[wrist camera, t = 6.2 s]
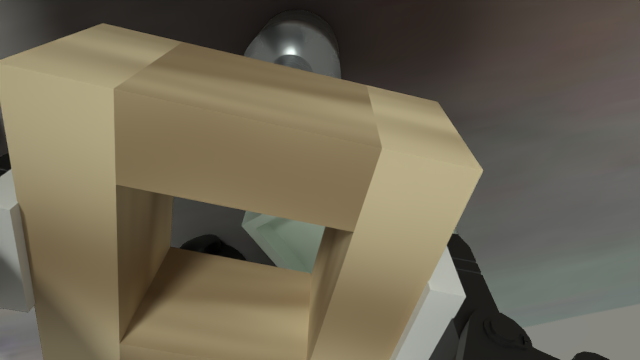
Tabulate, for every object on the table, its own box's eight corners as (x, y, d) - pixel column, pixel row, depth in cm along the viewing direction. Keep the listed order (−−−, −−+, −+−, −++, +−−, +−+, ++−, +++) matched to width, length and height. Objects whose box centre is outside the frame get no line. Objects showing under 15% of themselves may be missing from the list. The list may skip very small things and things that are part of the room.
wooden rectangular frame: (102, 23, 9) (-7, 62, 6) (437, 101, 10) (483, 170, 7) (112, 312, 14) (52, 414, 11) (340, 352, 15) (342, 457, 12)
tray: (248, 204, 34) (241, 225, 32) (395, 124, 31) (400, 140, 28) (332, 305, 40) (332, 330, 37) (465, 248, 36) (476, 271, 34)
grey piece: (264, 0, 27) (223, 33, 17) (348, 21, 27) (358, 65, 17) (251, 83, 29) (210, 155, 19) (328, 101, 30) (327, 180, 20)
